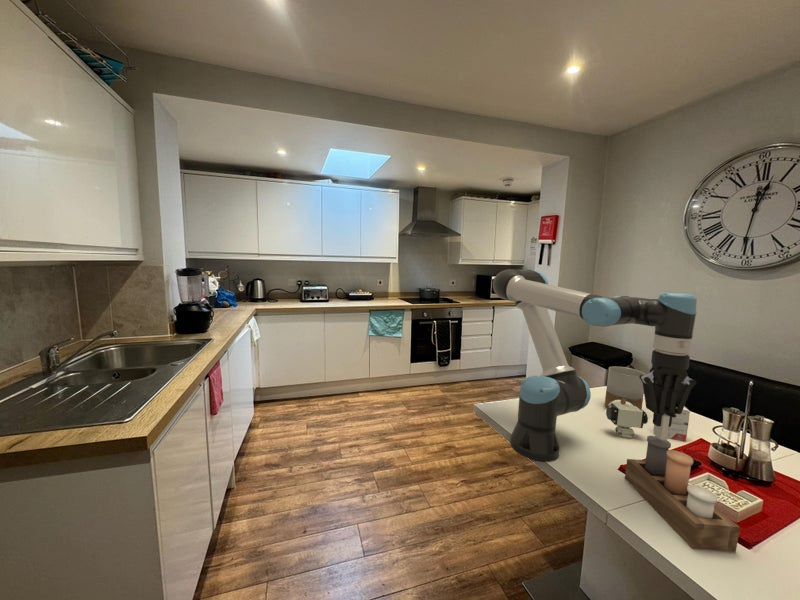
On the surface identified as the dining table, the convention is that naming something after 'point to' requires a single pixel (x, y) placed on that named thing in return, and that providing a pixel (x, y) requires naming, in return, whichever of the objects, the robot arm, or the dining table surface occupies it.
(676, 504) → the socket block
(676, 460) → the plug terracotta
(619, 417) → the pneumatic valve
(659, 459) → the plug charcoal
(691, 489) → the plug white
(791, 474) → the dining table surface
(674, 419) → the ink box
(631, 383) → the planter
